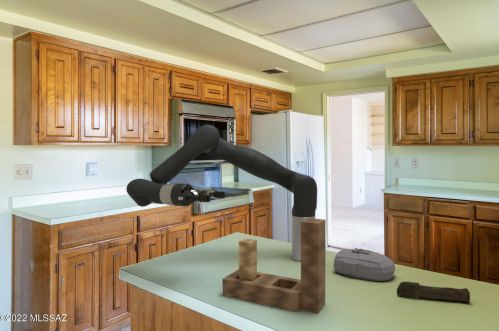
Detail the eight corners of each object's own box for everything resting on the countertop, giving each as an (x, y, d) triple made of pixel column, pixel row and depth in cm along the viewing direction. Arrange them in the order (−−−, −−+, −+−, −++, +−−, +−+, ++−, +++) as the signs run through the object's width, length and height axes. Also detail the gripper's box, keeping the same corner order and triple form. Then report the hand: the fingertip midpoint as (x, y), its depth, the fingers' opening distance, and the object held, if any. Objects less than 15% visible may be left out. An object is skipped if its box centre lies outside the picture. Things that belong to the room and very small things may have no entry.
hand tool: (466, 300, 103) (466, 284, 103) (471, 305, 99) (471, 289, 99) (396, 293, 108) (396, 278, 108) (397, 298, 105) (397, 282, 104)
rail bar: (239, 290, 108) (238, 241, 107) (245, 286, 111) (245, 238, 111) (251, 293, 106) (250, 243, 105) (257, 288, 109) (256, 240, 109)
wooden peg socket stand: (222, 295, 107) (221, 215, 106) (239, 283, 116) (238, 210, 115) (316, 316, 93) (316, 225, 92) (327, 301, 102) (327, 218, 101)
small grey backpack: (329, 275, 124) (389, 287, 113) (329, 251, 124) (390, 261, 112) (344, 263, 137) (400, 273, 125) (344, 241, 136) (400, 249, 125)
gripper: (162, 185, 113) (204, 187, 106) (189, 181, 126) (229, 182, 118) (162, 209, 114) (204, 212, 106) (190, 202, 126) (229, 205, 119)
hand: (217, 196), depth 112 cm, fingers open, 8 cm apart
